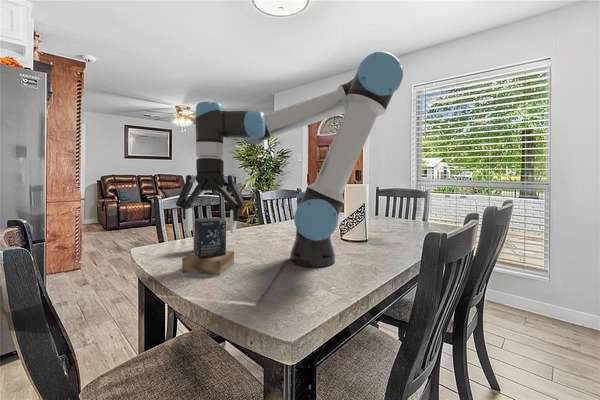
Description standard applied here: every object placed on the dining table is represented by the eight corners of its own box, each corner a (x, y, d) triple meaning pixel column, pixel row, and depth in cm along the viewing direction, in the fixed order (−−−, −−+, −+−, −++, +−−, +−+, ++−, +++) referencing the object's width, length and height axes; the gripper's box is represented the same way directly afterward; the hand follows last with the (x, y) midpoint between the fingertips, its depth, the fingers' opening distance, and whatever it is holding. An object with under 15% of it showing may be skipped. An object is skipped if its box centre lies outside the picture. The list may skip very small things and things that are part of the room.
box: (199, 258, 83) (199, 221, 82) (194, 254, 88) (194, 218, 87) (226, 255, 87) (226, 219, 86) (220, 251, 92) (220, 217, 91)
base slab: (233, 263, 92) (234, 251, 92) (219, 275, 81) (219, 260, 81) (200, 261, 94) (200, 249, 93) (182, 272, 83) (182, 258, 83)
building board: (240, 264, 94) (240, 262, 94) (222, 279, 80) (222, 277, 80) (198, 261, 95) (198, 260, 95) (174, 275, 82) (174, 273, 82)
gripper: (255, 159, 87) (255, 230, 89) (176, 159, 91) (178, 227, 92) (247, 157, 80) (248, 235, 81) (162, 157, 83) (164, 232, 85)
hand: (211, 231), depth 87 cm, fingers open, 13 cm apart
